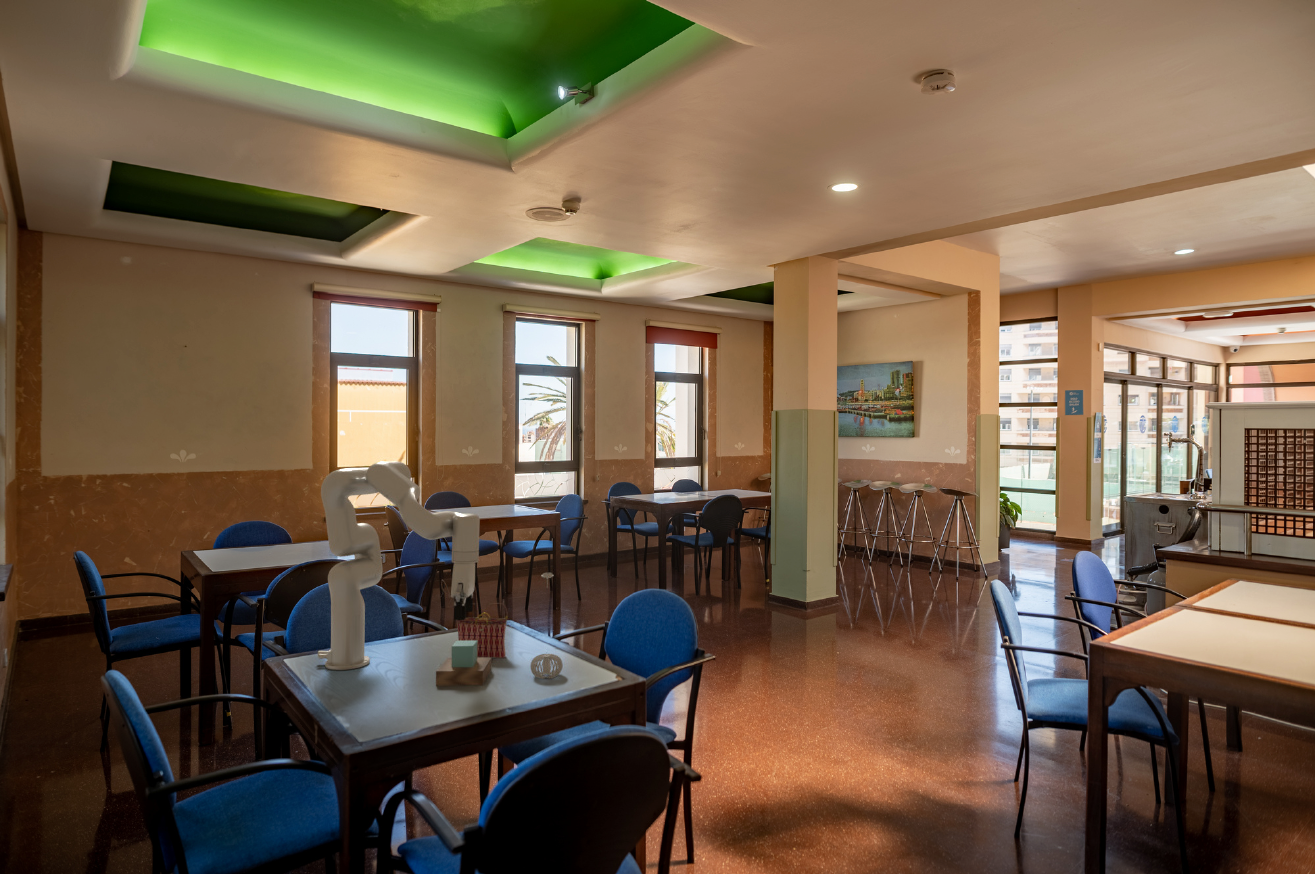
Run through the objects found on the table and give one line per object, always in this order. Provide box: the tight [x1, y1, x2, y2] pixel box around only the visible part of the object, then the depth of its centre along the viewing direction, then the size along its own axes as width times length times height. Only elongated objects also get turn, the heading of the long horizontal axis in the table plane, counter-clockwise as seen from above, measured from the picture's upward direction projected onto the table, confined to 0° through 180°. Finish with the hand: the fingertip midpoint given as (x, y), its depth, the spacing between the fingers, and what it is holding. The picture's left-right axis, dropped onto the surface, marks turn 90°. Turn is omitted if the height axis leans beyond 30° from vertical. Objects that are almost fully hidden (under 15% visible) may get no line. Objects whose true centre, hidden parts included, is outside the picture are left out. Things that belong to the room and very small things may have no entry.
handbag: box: [440, 579, 508, 659], centre depth 232 cm, size 7×21×25 cm, turn 84°
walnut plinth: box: [435, 657, 492, 687], centre depth 212 cm, size 13×13×4 cm
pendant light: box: [530, 572, 564, 680], centre depth 214 cm, size 9×9×30 cm
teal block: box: [451, 640, 478, 667], centre depth 212 cm, size 6×6×6 cm
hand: (463, 615), depth 212 cm, fingers open, 9 cm apart
